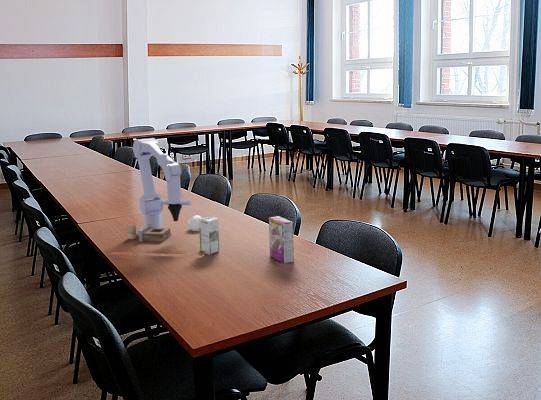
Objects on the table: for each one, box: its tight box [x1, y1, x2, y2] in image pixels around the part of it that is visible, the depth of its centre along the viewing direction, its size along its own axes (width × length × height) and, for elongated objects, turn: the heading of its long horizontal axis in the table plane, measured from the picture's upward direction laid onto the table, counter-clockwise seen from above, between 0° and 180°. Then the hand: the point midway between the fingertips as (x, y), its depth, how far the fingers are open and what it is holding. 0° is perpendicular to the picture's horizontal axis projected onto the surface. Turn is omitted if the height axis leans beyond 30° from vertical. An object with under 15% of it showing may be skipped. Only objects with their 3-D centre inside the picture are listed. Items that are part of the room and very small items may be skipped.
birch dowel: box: [126, 223, 137, 240], centre depth 250 cm, size 4×4×7 cm
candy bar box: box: [268, 215, 295, 265], centre depth 218 cm, size 11×5×16 cm, turn 30°
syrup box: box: [199, 216, 220, 256], centre depth 229 cm, size 6×6×14 cm
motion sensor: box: [187, 214, 204, 232], centre depth 261 cm, size 8×8×8 cm
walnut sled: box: [143, 227, 172, 243], centre depth 249 cm, size 10×9×4 cm
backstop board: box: [138, 224, 151, 243], centre depth 248 cm, size 11×20×6 cm, turn 80°
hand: (176, 220), depth 246 cm, fingers closed
